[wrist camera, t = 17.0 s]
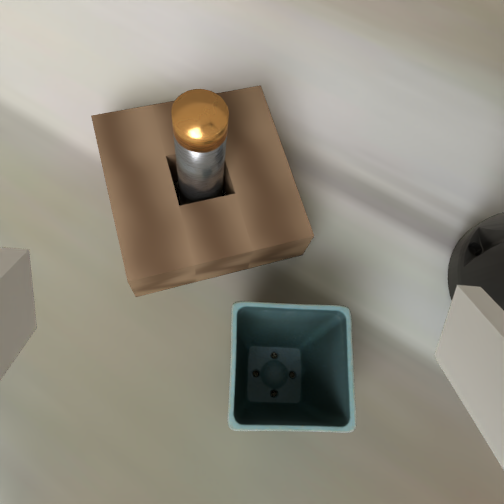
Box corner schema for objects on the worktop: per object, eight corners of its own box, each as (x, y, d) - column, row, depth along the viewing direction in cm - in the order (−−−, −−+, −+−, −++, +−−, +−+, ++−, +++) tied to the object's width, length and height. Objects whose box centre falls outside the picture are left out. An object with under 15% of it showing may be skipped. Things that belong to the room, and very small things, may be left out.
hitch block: (255, 116, 50) (260, 85, 45) (302, 254, 45) (314, 235, 41) (102, 146, 47) (91, 115, 42) (136, 297, 42) (127, 281, 38)
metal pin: (215, 177, 47) (220, 84, 34) (226, 213, 46) (235, 131, 33) (175, 186, 46) (165, 94, 33) (185, 222, 45) (178, 142, 32)
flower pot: (325, 430, 40) (358, 433, 32) (221, 428, 39) (227, 430, 31) (322, 327, 43) (351, 305, 35) (225, 323, 42) (231, 300, 34)
